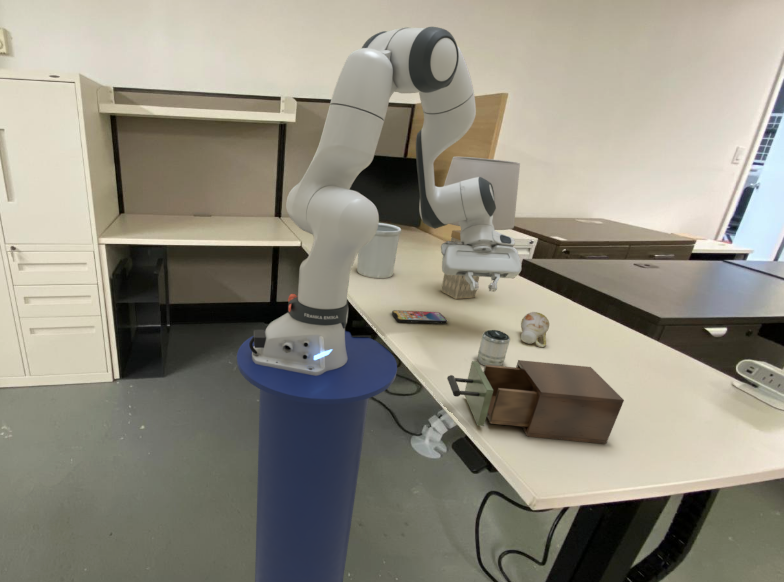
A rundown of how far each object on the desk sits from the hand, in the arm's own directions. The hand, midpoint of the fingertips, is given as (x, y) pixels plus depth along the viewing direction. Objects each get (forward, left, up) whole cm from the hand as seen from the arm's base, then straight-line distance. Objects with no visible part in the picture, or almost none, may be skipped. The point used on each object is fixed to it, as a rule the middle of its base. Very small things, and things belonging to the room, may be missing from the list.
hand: (483, 290), depth 119 cm
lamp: (+4, +40, -15) cm, 42 cm away
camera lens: (+1, -12, -15) cm, 19 cm away
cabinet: (+7, -36, -14) cm, 40 cm away
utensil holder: (-24, +57, -15) cm, 63 cm away
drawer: (-5, -36, -13) cm, 39 cm away
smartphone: (-13, +13, -14) cm, 23 cm away
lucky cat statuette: (+17, +5, -15) cm, 23 cm away
